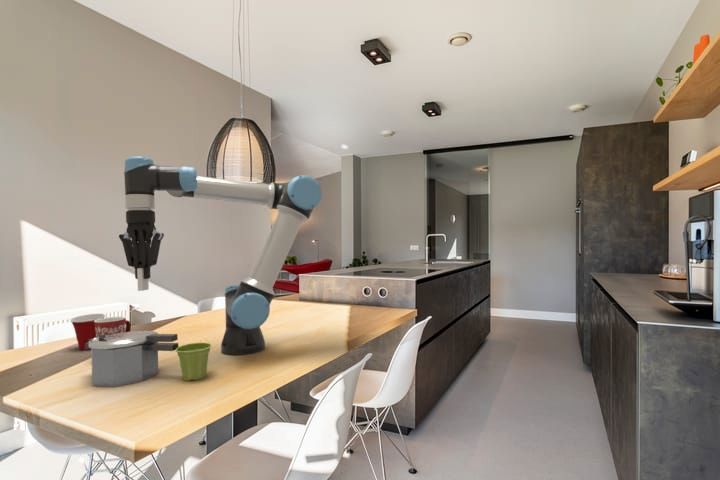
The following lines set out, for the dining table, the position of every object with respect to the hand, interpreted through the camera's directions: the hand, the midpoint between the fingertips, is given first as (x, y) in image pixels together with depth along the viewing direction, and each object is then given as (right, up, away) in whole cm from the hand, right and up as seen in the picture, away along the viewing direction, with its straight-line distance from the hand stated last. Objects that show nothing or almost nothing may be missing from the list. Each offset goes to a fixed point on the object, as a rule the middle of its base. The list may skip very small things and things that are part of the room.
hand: (143, 290), depth 115 cm
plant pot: (+17, -25, -4) cm, 30 cm away
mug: (-19, -26, +18) cm, 36 cm away
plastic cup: (-37, -26, +31) cm, 55 cm away
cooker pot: (-2, -25, -2) cm, 25 cm away
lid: (-1, -15, -2) cm, 15 cm away
